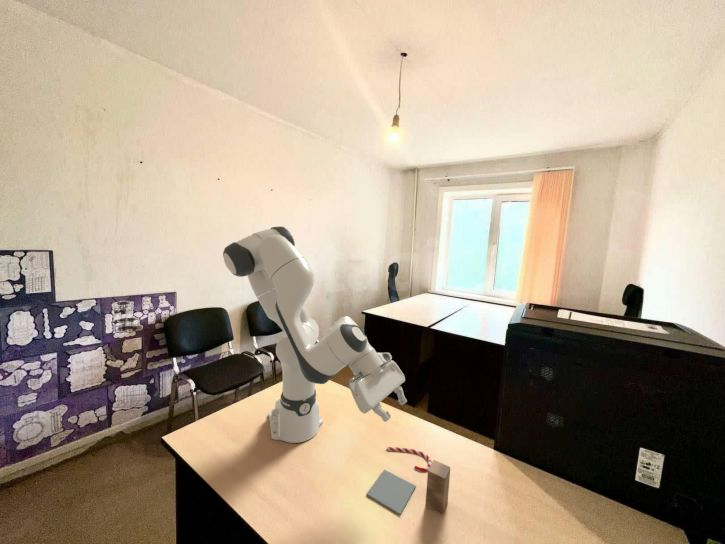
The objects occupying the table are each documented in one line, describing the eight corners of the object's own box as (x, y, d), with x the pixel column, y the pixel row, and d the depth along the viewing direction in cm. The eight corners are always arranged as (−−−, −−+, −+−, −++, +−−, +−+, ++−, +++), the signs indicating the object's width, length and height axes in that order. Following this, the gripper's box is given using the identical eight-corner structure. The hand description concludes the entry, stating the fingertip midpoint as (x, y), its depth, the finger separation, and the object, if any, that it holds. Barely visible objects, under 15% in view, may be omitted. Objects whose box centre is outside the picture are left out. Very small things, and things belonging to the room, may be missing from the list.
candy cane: (389, 440, 98) (434, 454, 92) (389, 444, 98) (434, 458, 92) (382, 456, 90) (430, 472, 85) (381, 460, 91) (429, 476, 85)
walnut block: (425, 505, 75) (427, 470, 74) (431, 493, 79) (433, 459, 78) (442, 514, 73) (445, 478, 71) (447, 501, 76) (450, 467, 75)
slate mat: (366, 495, 77) (366, 493, 77) (384, 470, 86) (384, 469, 86) (400, 515, 72) (400, 513, 72) (415, 487, 80) (415, 485, 80)
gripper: (352, 375, 73) (384, 426, 69) (392, 351, 90) (419, 391, 85) (339, 386, 76) (368, 436, 72) (379, 361, 93) (405, 400, 88)
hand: (396, 411), depth 79 cm, fingers open, 8 cm apart
